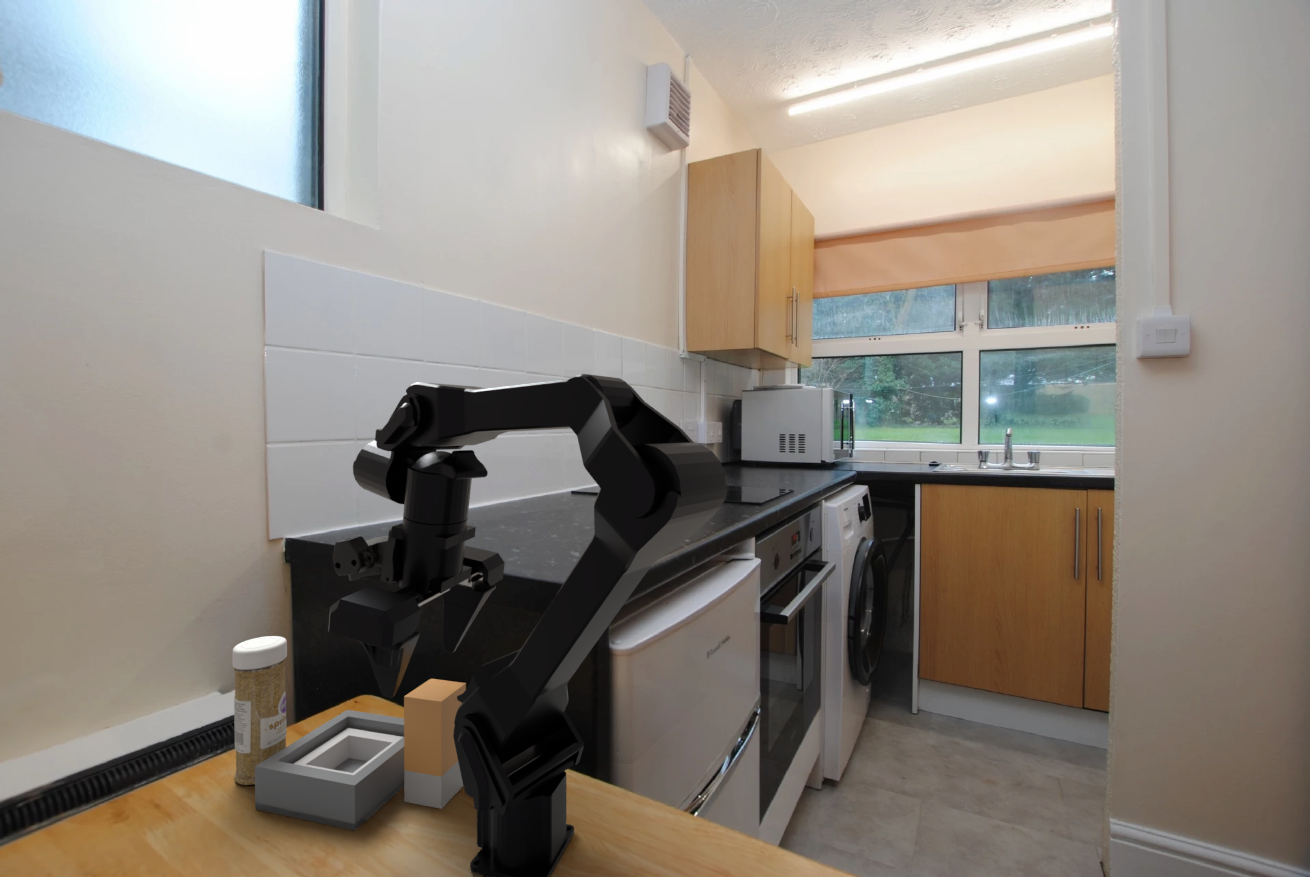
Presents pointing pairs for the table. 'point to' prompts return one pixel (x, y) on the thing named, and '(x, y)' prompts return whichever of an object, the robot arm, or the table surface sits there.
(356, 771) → the inlet box
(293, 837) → the table surface
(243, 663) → the sprinkles bottle
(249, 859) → the table surface
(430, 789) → the block
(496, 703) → the robot arm
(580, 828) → the table surface
